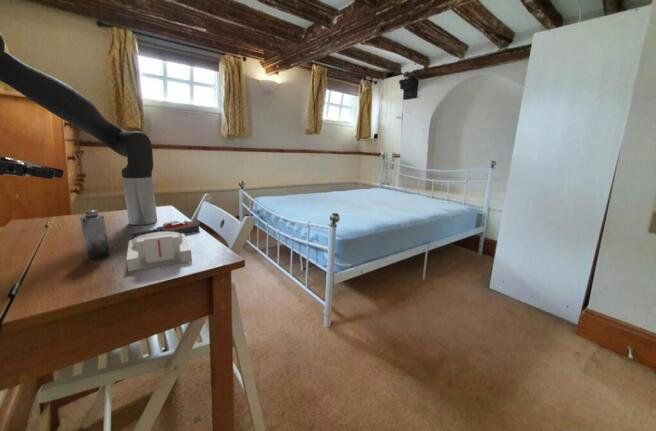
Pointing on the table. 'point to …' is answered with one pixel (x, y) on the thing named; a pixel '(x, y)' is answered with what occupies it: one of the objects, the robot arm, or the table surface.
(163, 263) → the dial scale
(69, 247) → the table surface
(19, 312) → the table surface
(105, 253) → the steel weight
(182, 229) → the walkie-talkie
